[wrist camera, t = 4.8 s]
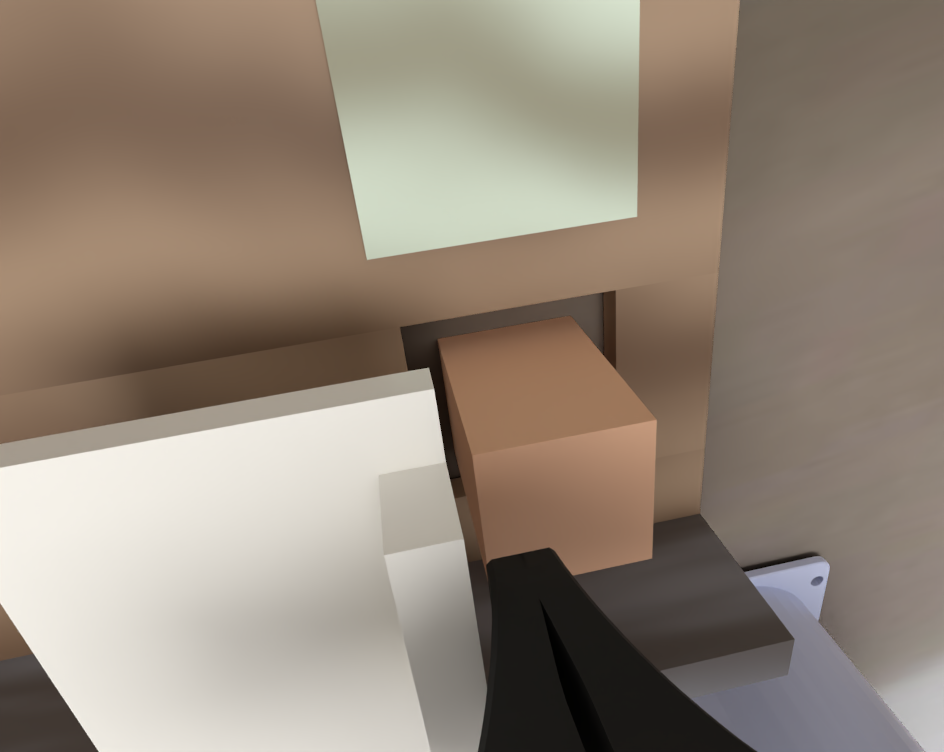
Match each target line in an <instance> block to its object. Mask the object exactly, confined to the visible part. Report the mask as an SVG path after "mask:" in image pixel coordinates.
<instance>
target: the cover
mask: <svg viewBox="0 0 944 752" xmlns="http://www.w3.org/2000/svg"><path fill="white" fill-rule="evenodd" d="M0 604H1V605H2V607H3V608H4V610H5V611H6V613H7V614H8V616H9V617H10V619H11V620H12V622H13V623H14V625H15V626H16V628H17V629H18V631H19V632H20V634H21V635H22V637H23V638H24V640H25V641H26V643H27V644H28V646H29V647H30V649H31V650H32V652H33V653H34V655H35V656H36V658H37V659H38V661H39V662H40V664H41V665H42V667H43V669H44V670H45V672H46V673H47V675H48V676H49V678H50V679H51V681H52V682H53V684H54V685H55V687H56V688H57V690H58V691H59V693H60V694H61V696H62V697H63V699H64V700H65V702H66V703H67V705H68V706H69V708H70V709H71V711H72V712H73V714H74V715H75V717H76V718H77V720H78V721H79V723H80V724H81V726H82V727H83V729H84V730H85V732H86V733H87V735H88V736H89V738H90V739H91V741H92V742H93V744H94V745H95V747H96V748H97V750H98V751H99V752H478V748H479V742H480V737H481V730H482V724H483V718H484V711H485V704H486V695H487V684H486V678H485V671H484V665H483V659H482V652H481V646H480V639H479V633H478V627H477V620H476V614H475V608H474V601H473V595H472V588H471V582H470V576H469V569H468V563H467V556H466V550H465V544H464V538H463V533H462V529H461V525H460V521H459V516H458V512H457V508H456V503H455V499H454V495H453V490H452V486H451V482H450V477H449V473H448V469H447V464H446V459H445V453H444V447H443V441H442V434H441V428H440V422H439V416H438V410H437V404H436V397H435V391H434V386H433V382H432V378H431V374H430V370H429V368H424V369H418V370H413V371H407V372H401V373H396V374H390V375H385V376H379V377H373V378H368V379H362V380H357V381H351V382H345V383H340V384H334V385H329V386H323V387H317V388H312V389H306V390H301V391H295V392H289V393H284V394H278V395H273V396H267V397H261V398H256V399H250V400H245V401H239V402H233V403H228V404H222V405H217V406H211V407H205V408H200V409H194V410H189V411H183V412H177V413H172V414H166V415H161V416H155V417H149V418H144V419H138V420H133V421H127V422H121V423H116V424H110V425H105V426H99V427H93V428H88V429H82V430H77V431H71V432H65V433H60V434H54V435H49V436H43V437H37V438H32V439H26V440H21V441H15V442H9V443H4V444H0Z"/></svg>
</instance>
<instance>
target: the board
mask: <svg viewBox="0 0 944 752" xmlns="http://www.w3.org/2000/svg"><path fill="white" fill-rule="evenodd" d="M739 4H740V0H0V444H4V443H9V442H15V441H21V440H26V439H32V438H37V437H43V436H49V435H54V434H60V433H65V432H71V431H77V430H82V429H88V428H93V427H99V426H105V425H110V424H116V423H121V422H127V421H133V420H138V419H144V418H149V417H155V416H161V415H166V414H172V413H177V412H183V411H189V410H194V409H200V408H205V407H211V406H217V405H222V404H228V403H233V402H239V401H245V400H250V399H256V398H261V397H267V396H273V395H278V394H284V393H289V392H295V391H301V390H306V389H312V388H317V387H323V386H329V385H334V384H340V383H345V382H351V381H357V380H362V379H368V378H373V377H379V376H385V375H390V374H396V373H401V372H407V371H408V369H407V363H406V358H405V352H404V347H403V341H402V336H401V330H400V327H404V326H410V325H415V324H421V323H427V322H433V321H439V320H445V319H450V318H456V317H462V316H468V315H474V314H480V313H485V312H491V311H497V310H503V309H509V308H515V307H520V306H526V305H532V304H538V303H544V302H550V301H555V300H561V299H567V298H573V297H579V296H585V295H590V294H596V293H602V292H603V305H604V357H605V358H606V359H607V360H608V361H609V363H610V364H611V365H612V366H613V368H614V369H615V370H616V371H617V372H618V374H619V375H620V376H621V377H622V378H623V380H624V381H625V382H626V383H627V384H628V386H629V387H630V388H631V389H632V390H633V392H634V393H635V394H636V395H637V396H638V398H639V399H640V400H641V401H642V403H643V404H644V405H645V406H646V407H647V409H648V410H649V411H650V412H651V413H652V415H653V416H654V417H655V418H656V419H657V429H656V459H655V489H654V518H653V548H652V559H647V560H643V561H638V562H634V563H629V564H624V565H620V566H615V567H610V568H606V569H601V570H596V571H592V572H587V573H583V574H578V575H573V577H574V578H575V579H576V580H577V582H578V583H579V584H580V585H581V587H582V588H583V589H584V590H585V591H586V593H587V594H588V595H589V596H590V598H591V599H592V600H593V601H594V602H595V603H596V605H597V606H598V607H599V608H600V609H601V610H602V611H603V613H604V614H605V615H606V616H607V617H608V618H609V619H610V620H611V621H612V622H613V623H614V625H615V626H616V627H617V628H618V629H619V630H620V631H621V632H622V633H623V634H624V636H625V637H626V638H627V639H628V640H629V641H630V642H631V643H632V644H633V645H634V646H635V647H636V648H637V649H638V650H639V651H640V652H641V653H642V654H643V655H644V656H645V657H646V658H647V659H648V660H649V661H650V662H651V663H652V664H653V665H654V666H655V667H656V668H657V669H658V670H659V671H661V672H662V673H663V674H664V675H665V676H666V677H667V678H668V679H669V680H670V681H671V682H672V683H673V684H675V685H676V686H677V687H678V688H679V689H680V690H681V691H682V692H683V693H685V694H686V695H687V696H688V697H689V698H690V699H691V698H695V697H699V696H703V695H707V694H711V693H716V692H720V691H724V690H728V689H732V688H736V687H741V686H745V685H749V684H753V683H757V682H761V681H766V680H770V679H774V678H778V677H782V676H786V675H788V672H789V667H790V662H791V656H792V651H793V646H794V641H795V639H794V638H793V636H792V635H791V634H790V632H789V631H788V630H787V628H786V627H785V626H784V624H783V623H782V622H781V620H780V619H779V618H778V616H777V615H776V614H775V612H774V611H773V610H772V608H771V607H770V606H769V604H768V603H767V602H766V600H765V599H764V598H763V597H762V595H761V594H760V593H759V591H758V590H757V589H756V587H755V586H754V585H753V583H752V582H751V581H750V579H749V578H748V577H747V575H746V574H745V573H744V571H743V570H742V569H741V567H740V566H739V565H738V563H737V562H736V561H735V560H734V558H733V557H732V556H731V554H730V553H729V552H728V550H727V549H726V548H725V546H724V545H723V544H722V542H721V541H720V540H719V538H718V537H717V536H716V534H715V533H714V532H713V530H712V529H711V528H710V526H709V525H708V524H707V522H706V521H705V520H704V519H703V517H702V516H701V515H700V505H701V492H702V479H703V466H704V453H705V440H706V428H707V415H708V402H709V389H710V376H711V363H712V351H713V338H714V325H715V312H716V299H717V286H718V273H719V261H720V248H721V235H722V222H723V209H724V196H725V183H726V171H727V158H728V145H729V132H730V119H731V106H732V93H733V81H734V68H735V55H736V42H737V29H738V16H739ZM450 482H451V486H452V490H453V495H454V499H455V503H456V508H457V512H458V516H459V521H460V525H461V529H462V533H463V538H464V544H465V550H466V556H467V563H468V569H469V576H470V582H471V588H472V595H473V601H474V608H475V614H476V620H477V627H478V633H479V639H480V646H481V652H482V659H483V665H484V671H485V678H486V684H487V686H488V677H489V668H490V656H491V633H492V608H491V600H490V592H489V585H488V580H487V576H486V572H485V568H484V564H483V560H482V556H481V552H480V549H479V545H478V541H477V537H476V533H475V529H474V525H473V521H472V517H471V514H470V510H469V506H468V502H467V498H466V494H465V490H464V486H463V483H462V479H461V477H460V478H454V479H450ZM0 752H99V751H98V750H97V748H96V747H95V745H94V744H93V742H92V741H91V739H90V738H89V736H88V735H87V733H86V732H85V730H84V729H83V727H82V726H81V724H80V723H79V721H78V720H77V718H76V717H75V715H74V714H73V712H72V711H71V709H70V708H69V706H68V705H67V703H66V702H65V700H64V699H63V697H62V696H61V694H60V693H59V691H58V690H57V688H56V687H55V685H54V684H53V682H52V681H51V679H50V678H49V676H48V675H47V673H46V672H45V670H44V669H43V667H42V665H41V664H40V662H39V661H38V659H37V658H36V656H35V655H34V653H33V652H32V650H31V649H30V647H29V646H28V644H27V643H26V641H25V640H24V638H23V637H22V635H21V634H20V632H19V631H18V629H17V628H16V626H15V625H14V623H13V622H12V620H11V619H10V617H9V616H8V614H7V613H6V611H5V610H4V608H3V607H2V605H1V604H0Z"/></svg>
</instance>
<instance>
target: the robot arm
mask: <svg viewBox="0 0 944 752" xmlns="http://www.w3.org/2000/svg"><path fill="white" fill-rule="evenodd" d="M486 570H487V577H488V585H489V592H490V600H491V608H492V633H491V656H490V668H489V677H488V686H487V695H486V704H485V711H484V718H483V724H482V730H481V737H480V742H479V748H478V752H925V751H924V750H923V748H922V747H921V746H920V745H919V744H918V742H917V741H916V740H915V739H914V737H913V736H912V735H911V734H910V733H909V731H908V730H907V729H906V728H905V727H904V725H903V724H902V723H901V722H900V720H899V719H898V718H897V717H896V716H895V714H894V713H893V712H892V711H891V709H890V708H889V707H888V706H887V705H886V703H885V702H884V701H883V700H882V699H881V697H880V696H879V695H878V694H877V692H876V691H875V690H874V689H873V688H872V686H871V685H870V684H869V683H868V681H867V680H866V679H865V678H864V677H863V675H862V674H861V673H860V672H859V671H858V669H857V668H856V667H855V666H854V664H853V663H852V662H851V661H850V660H849V658H848V657H847V656H846V655H845V653H844V652H843V651H842V650H841V649H840V647H839V646H838V645H837V644H836V642H835V641H834V640H833V639H832V638H831V636H830V635H829V634H828V633H827V632H826V630H825V629H824V628H823V627H822V625H821V624H820V623H819V622H818V621H819V616H820V612H821V607H822V602H823V598H824V593H825V588H826V584H827V579H828V575H829V570H830V565H829V564H828V562H827V561H826V560H825V559H824V558H823V557H820V556H815V557H810V558H805V559H801V560H796V561H792V562H787V563H783V564H778V565H774V566H769V567H765V568H760V569H756V570H751V571H747V572H744V573H745V574H746V575H747V577H748V578H749V579H750V581H751V582H752V583H753V585H754V586H755V587H756V589H757V590H758V591H759V593H760V594H761V595H762V597H763V598H764V599H765V600H766V602H767V603H768V604H769V606H770V607H771V608H772V610H773V611H774V612H775V614H776V615H777V616H778V618H779V619H780V620H781V622H782V623H783V624H784V626H785V627H786V628H787V630H788V631H789V632H790V634H791V635H792V636H793V638H794V639H795V641H794V646H793V651H792V656H791V662H790V667H789V672H788V675H786V676H782V677H778V678H774V679H770V680H766V681H761V682H757V683H753V684H749V685H745V686H741V687H736V688H732V689H728V690H724V691H720V692H716V693H711V694H707V695H703V696H699V697H695V698H691V699H690V698H689V697H688V696H687V695H686V694H685V693H683V692H682V691H681V690H680V689H679V688H678V687H677V686H676V685H675V684H673V683H672V682H671V681H670V680H669V679H668V678H667V677H666V676H665V675H664V674H663V673H662V672H661V671H659V670H658V669H657V668H656V667H655V666H654V665H653V664H652V663H651V662H650V661H649V660H648V659H647V658H646V657H645V656H644V655H643V654H642V653H641V652H640V651H639V650H638V649H637V648H636V647H635V646H634V645H633V644H632V643H631V642H630V641H629V640H628V639H627V638H626V637H625V636H624V634H623V633H622V632H621V631H620V630H619V629H618V628H617V627H616V626H615V625H614V623H613V622H612V621H611V620H610V619H609V618H608V617H607V616H606V615H605V614H604V613H603V611H602V610H601V609H600V608H599V607H598V606H597V605H596V603H595V602H594V601H593V600H592V599H591V598H590V596H589V595H588V594H587V593H586V591H585V590H584V589H583V588H582V587H581V585H580V584H579V583H578V582H577V580H576V579H575V578H574V577H573V575H572V574H571V573H570V571H569V570H568V569H567V567H566V566H565V565H564V563H563V562H562V560H561V559H560V558H559V556H558V555H557V553H556V552H555V551H554V550H553V549H551V548H544V549H539V550H534V551H529V552H525V553H520V554H515V555H510V556H505V557H500V558H496V559H491V560H490V561H489V562H488V563H487V564H486Z"/></svg>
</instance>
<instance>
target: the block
mask: <svg viewBox="0 0 944 752" xmlns="http://www.w3.org/2000/svg"><path fill="white" fill-rule="evenodd" d="M437 340H438V346H439V353H440V359H441V366H442V373H443V379H444V386H445V392H446V399H447V405H448V412H449V418H450V425H451V432H452V438H453V445H454V451H455V455H456V459H457V463H458V467H459V471H460V475H461V479H462V483H463V486H464V490H465V494H466V498H467V502H468V506H469V510H470V514H471V517H472V521H473V525H474V529H475V533H476V537H477V541H478V545H479V549H480V552H481V556H482V560H483V564H484V568H485V572H486V576H487V570H486V564H487V563H488V562H489V561H490V560H491V559H496V558H500V557H505V556H510V555H515V554H520V553H525V552H529V551H534V550H539V549H544V548H551V549H553V550H554V551H555V552H556V553H557V555H558V556H559V558H560V559H561V560H562V562H563V563H564V565H565V566H566V567H567V569H568V570H569V571H570V573H571V574H572V575H578V574H583V573H587V572H592V571H596V570H601V569H606V568H610V567H615V566H620V565H624V564H629V563H634V562H638V561H643V560H647V559H652V548H653V518H654V489H655V459H656V429H657V419H656V418H655V417H654V416H653V415H652V413H651V412H650V411H649V410H648V409H647V407H646V406H645V405H644V404H643V403H642V401H641V400H640V399H639V398H638V396H637V395H636V394H635V393H634V392H633V390H632V389H631V388H630V387H629V386H628V384H627V383H626V382H625V381H624V380H623V378H622V377H621V376H620V375H619V374H618V372H617V371H616V370H615V369H614V368H613V366H612V365H611V364H610V363H609V361H608V360H607V359H606V358H605V357H604V355H603V354H602V353H601V352H600V351H599V349H598V348H597V347H596V346H595V345H594V343H593V342H592V341H591V340H590V339H589V337H588V336H587V335H586V334H585V332H584V331H583V330H582V329H581V328H580V326H579V325H578V324H577V323H576V322H575V320H574V319H573V318H572V317H571V316H566V317H560V318H554V319H548V320H543V321H537V322H531V323H526V324H520V325H514V326H508V327H503V328H497V329H491V330H485V331H480V332H474V333H468V334H462V335H457V336H451V337H445V338H439V339H437ZM487 580H488V577H487Z"/></svg>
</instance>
